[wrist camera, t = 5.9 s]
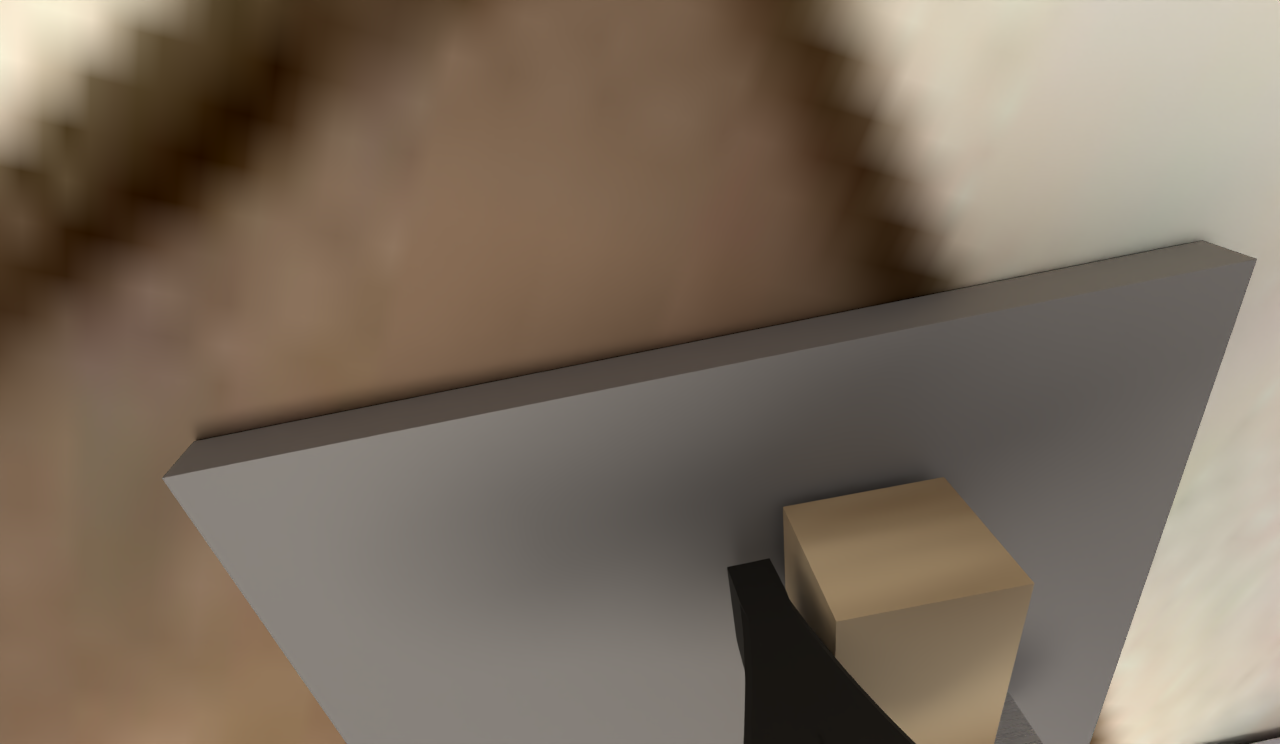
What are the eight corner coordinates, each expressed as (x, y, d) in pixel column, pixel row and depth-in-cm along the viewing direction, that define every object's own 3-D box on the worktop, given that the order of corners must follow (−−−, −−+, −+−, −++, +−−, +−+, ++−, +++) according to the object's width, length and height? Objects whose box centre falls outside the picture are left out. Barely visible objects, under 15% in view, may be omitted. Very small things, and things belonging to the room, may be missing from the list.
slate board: (1202, 240, 11) (1256, 259, 10) (1042, 780, 20) (1065, 814, 19) (193, 441, 11) (162, 478, 10) (487, 900, 20) (484, 940, 19)
